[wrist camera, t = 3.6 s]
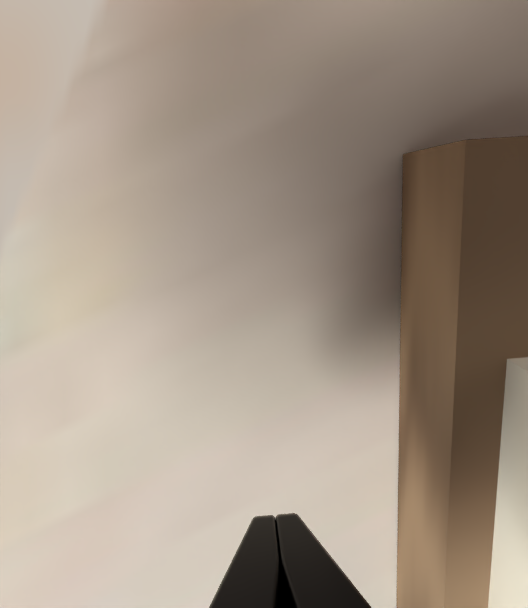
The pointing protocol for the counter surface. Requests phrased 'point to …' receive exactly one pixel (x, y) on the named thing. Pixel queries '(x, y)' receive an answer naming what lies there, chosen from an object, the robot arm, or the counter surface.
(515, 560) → the cream tile
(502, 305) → the walnut deck
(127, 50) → the counter surface
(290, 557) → the robot arm
